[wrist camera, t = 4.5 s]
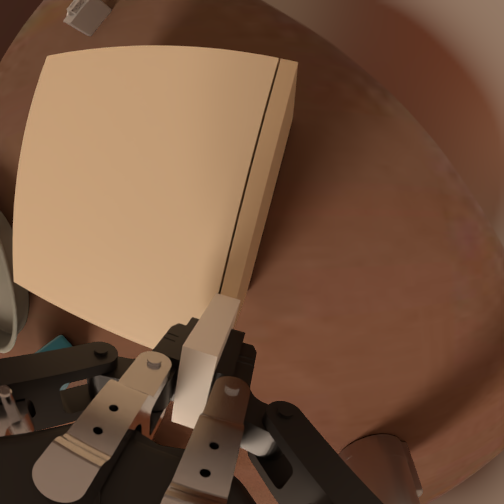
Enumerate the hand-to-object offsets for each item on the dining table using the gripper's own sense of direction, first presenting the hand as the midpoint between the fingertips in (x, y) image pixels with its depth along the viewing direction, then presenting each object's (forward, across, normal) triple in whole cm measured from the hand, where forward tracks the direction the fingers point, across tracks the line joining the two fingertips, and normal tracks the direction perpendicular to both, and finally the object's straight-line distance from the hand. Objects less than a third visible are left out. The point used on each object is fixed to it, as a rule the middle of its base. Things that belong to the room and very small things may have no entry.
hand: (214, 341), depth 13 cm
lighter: (+13, +24, -24) cm, 37 cm away
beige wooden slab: (+13, 0, -6) cm, 14 cm away
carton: (+13, +8, -6) cm, 16 cm away
